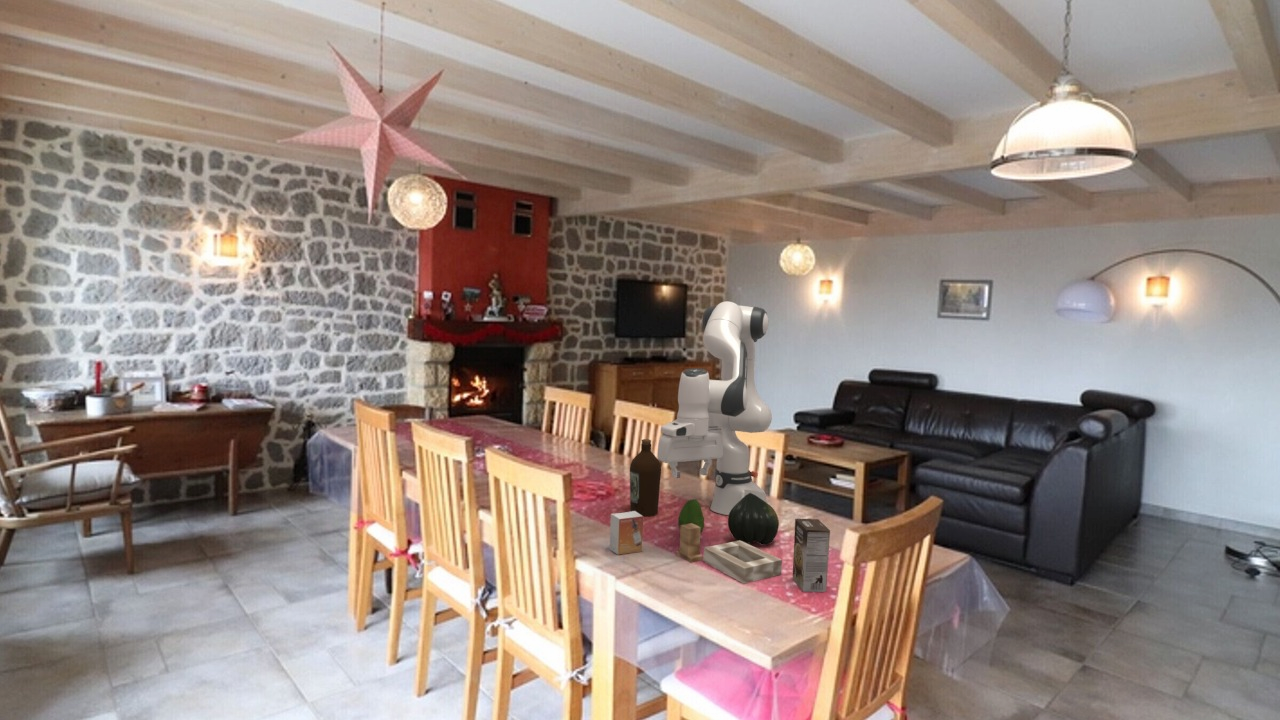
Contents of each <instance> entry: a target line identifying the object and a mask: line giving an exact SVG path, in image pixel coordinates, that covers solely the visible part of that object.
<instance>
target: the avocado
mask: <svg viewBox="0 0 1280 720" xmlns="http://www.w3.org/2000/svg"><path fill="white" fill-rule="evenodd" d="M703 513H704V512H703V509H702V506H701V503H700V502H699V501H698V499H689V500H687V501H686V502H685V503H684V505H683V506H682V508H681V510H680V513H679V515H678V519H677V520H678V522H677V526H678V529H679V530H680V527H681V525H685V524H690V523H693V524H695V525H697V526H699V527H701V529H700V535H701V534H702V533H703V530H704V527H705V517H704V514H703Z"/></svg>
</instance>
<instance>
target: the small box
mask: <svg viewBox="0 0 1280 720" xmlns="http://www.w3.org/2000/svg"><path fill="white" fill-rule="evenodd" d="M609 523H610V526H609V527H610V528H609V531H610V532H609V550H610V551H612V552H613V553H614V554H616V555H618V556H619V555H625V554H633V553H641V552H642V551H643V535H644V517H643V516H642V515H641V514H639V513H637V512H636V511H632V512H630V511H626V512H615V513H610V522H609Z"/></svg>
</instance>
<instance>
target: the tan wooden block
mask: <svg viewBox="0 0 1280 720" xmlns="http://www.w3.org/2000/svg"><path fill="white" fill-rule="evenodd" d="M700 529H701V527H699V526H697V525H695V524H693V523H690V524H685V525H681V527H680V529H679V533H680V535H679V549H677V550H676V553H675V554H676V555H675V556H678V557H680V558H682V559H684V560H685V561H687V562H689V563H690V564H692V563H698V562H700V561H701V562H703V559H704V555H701V554H700V551H701V549H700V548H701V534H700Z"/></svg>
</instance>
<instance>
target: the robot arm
mask: <svg viewBox="0 0 1280 720" xmlns="http://www.w3.org/2000/svg"><path fill="white" fill-rule="evenodd" d="M701 317H702V318H701V325H702V330H703V337H702V338H703V345H704V347H705V349H706V350H707V352H708V353H710V354H711V355H712V356H713V357H714V358H717V359H719V360H721V373H720V375H721V376H720V378H721V379H720V380H718V379H710V375H709V371H708V370H707V369H704V368H699V367H698V368H696V367H695V368H686V369H684V370H683V371H682V372H681V374H680V379H679V385H678V393H677V401H678V402H677V403H678V411H677V414H676V419H674V420H672V421H670V422H668V423H666V424H663V425H661V427H660V433H661V434H662V435H660V437H659V440H658V445H657V459H658V460H659V462H660V463H664V464H668V465H669V467H670V470H671V471H672V473H671V474H672V475H671V477H672V478H674V479H678V478H679V479H680V477H681V471H680V470H678V469H677V467H678V463H684V462H695V461H703V463H704V465H703V466H702V467H701V468H700V469H699V471H700V472H699V474H700V475H701V476H708V475H709V469H710V467H711V465H712V464H713V460H716V468H715V472H714V483H715V485H714V492H713V497H712V501H711V504H710V508H709V509H710V510H711V511H712V512H715V513H717V514H720V515H725V516H729V513H730V511H731V509H732V508H733V507H734V506H735V505H736V504H737V503H738V502H739V501H740V500H741V499H742V498H743V497H744V496H746V495H747V494H749V493H752V494H754V495H756V496H757V497H759V498H760V499H762V500H763V501H765V502H766V503H767V504H769V505H770V506H771V507H772V508H773V509H774V507H773V505H772V504H770V503H769V502H767V495H766V492H765V491H764V490H763V488H761V487H760V485H758V484H757V483H755V482H754V481H753V478H758V475H759V473H758V472H757V471H754V470H752V471H751V470H749V469H750V448H749V447H748V445H747V444H746V443H745V442H744V441H741V440H740V438H739V437H738V435H737V434H736V432H741V433H750V434H752V433H755V434H756V433H764V432H765V431H767V430H768V428H769V427H770V426H771V423H772V420H773V416H772V411H771V409H770V407H769V406H768V404H767V403H765V402H764V400H763V399H762V398H761V397H760V394H759V393H758V391H757V388H756V384H755V361H756V360H755V359H756V357H755V355H756V354H755V353H756V352H755V351H756V349H755V343H757V342H758V340H760V339H762V338H763V337H764V336H765V335H766V333H767V330H768V327H769V317H768V313H767V312H766V310H765V309H764V308H762V307H759V306H754V307H752V306H747V305H739V304H737V303H735V302H733V301H726V300H725V301H721V302H719V303H718V304H717V305H713V306H709V307H707V308H706V309H705V310H704V311H703V314H702V316H701ZM752 477H753V478H752Z"/></svg>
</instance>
